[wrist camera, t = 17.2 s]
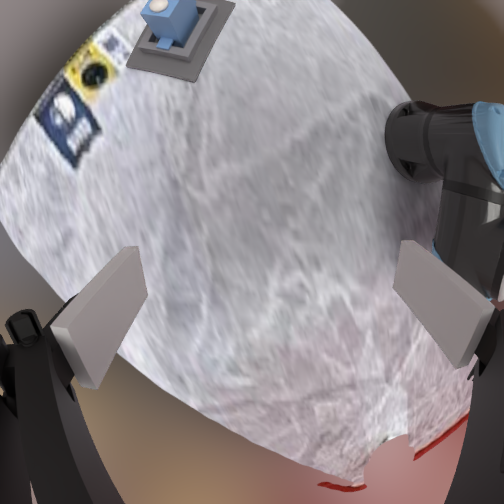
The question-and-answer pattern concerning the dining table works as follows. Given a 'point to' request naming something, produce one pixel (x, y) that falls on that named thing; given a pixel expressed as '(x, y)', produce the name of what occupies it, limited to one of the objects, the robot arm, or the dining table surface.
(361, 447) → the dining table surface
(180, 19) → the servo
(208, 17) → the chassis
